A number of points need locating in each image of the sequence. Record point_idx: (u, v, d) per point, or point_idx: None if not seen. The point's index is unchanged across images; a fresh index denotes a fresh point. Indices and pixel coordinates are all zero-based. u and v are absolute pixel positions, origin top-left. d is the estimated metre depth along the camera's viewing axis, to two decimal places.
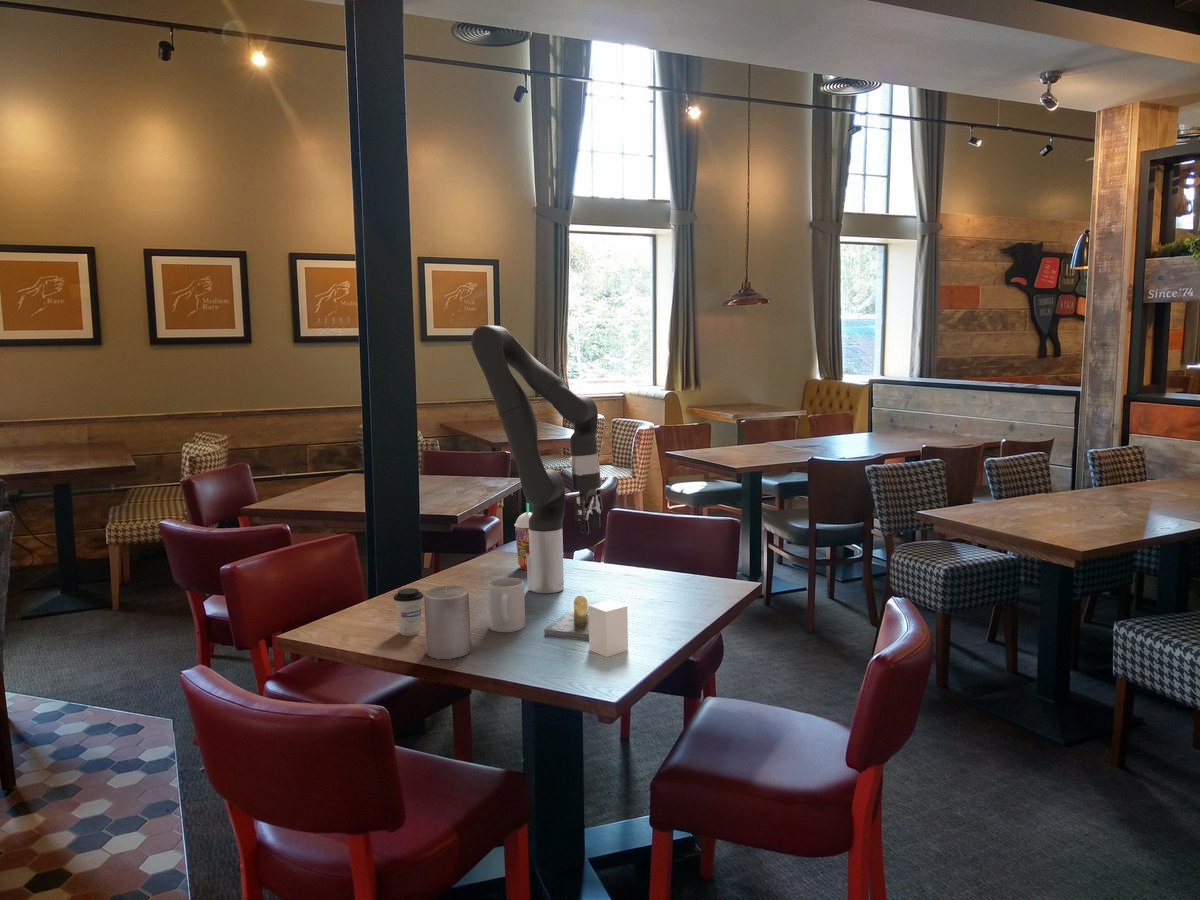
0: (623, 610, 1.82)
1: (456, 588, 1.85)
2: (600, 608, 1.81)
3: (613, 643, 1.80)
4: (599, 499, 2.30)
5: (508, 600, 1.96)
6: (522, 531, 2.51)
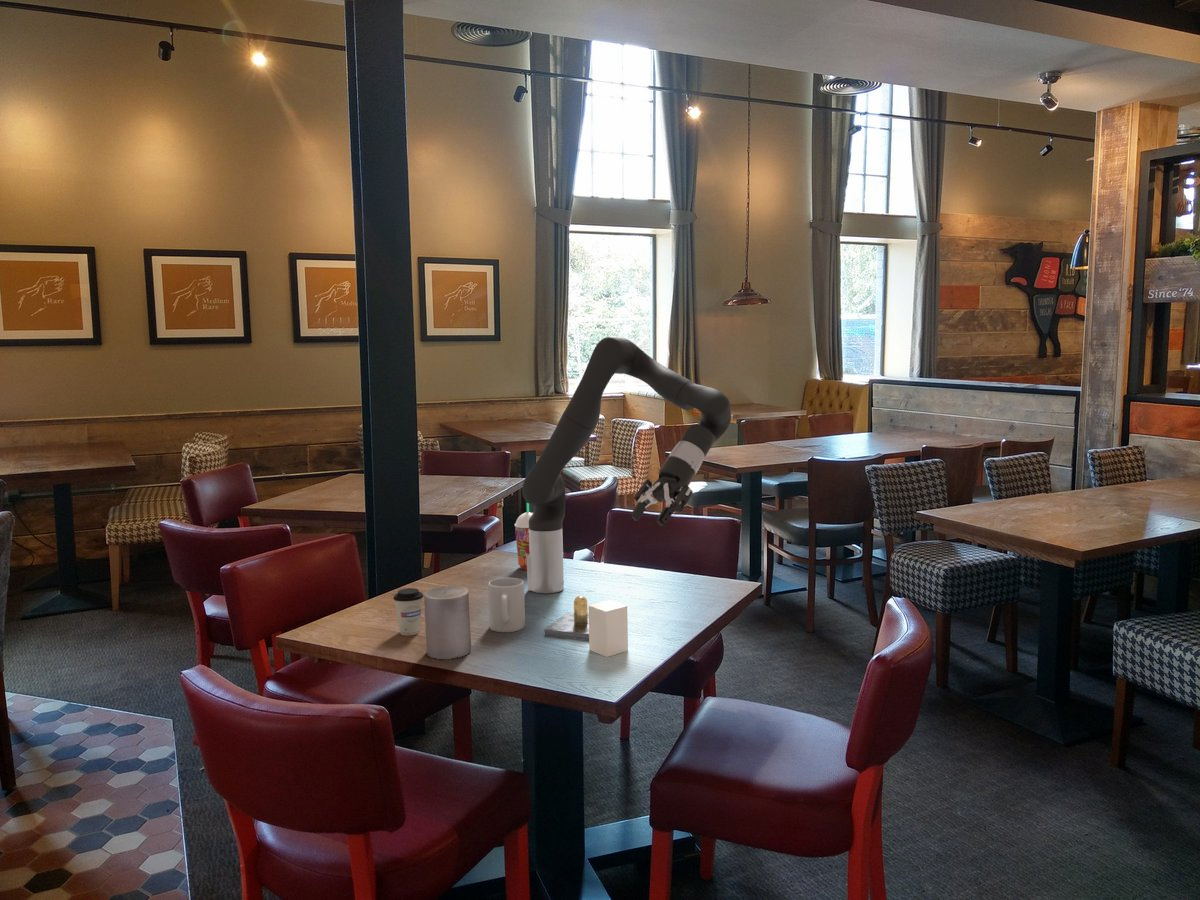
0: (623, 610, 1.82)
1: (456, 588, 1.85)
2: (600, 608, 1.81)
3: (613, 643, 1.80)
4: None
5: (508, 600, 1.96)
6: (522, 531, 2.51)
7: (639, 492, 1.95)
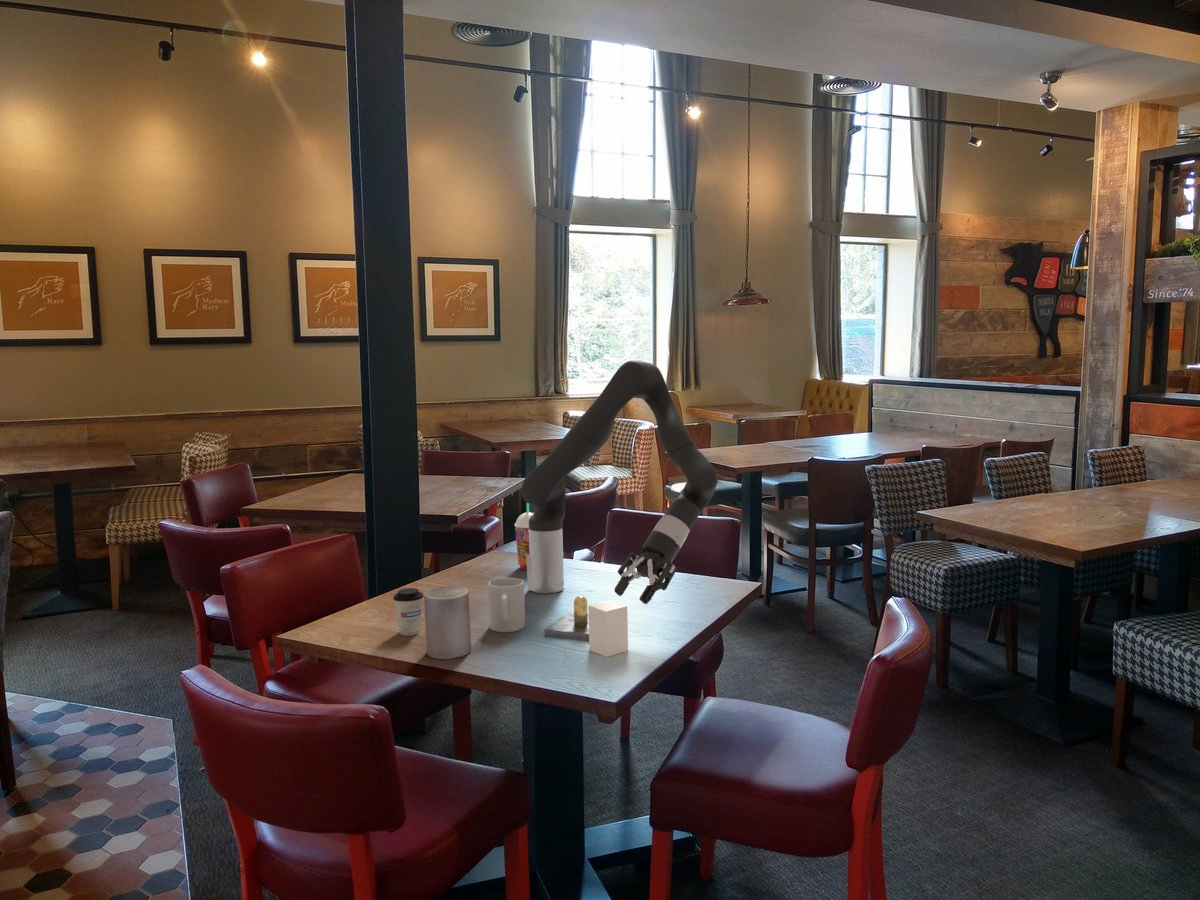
0: (623, 610, 1.82)
1: (456, 588, 1.85)
2: (600, 608, 1.81)
3: (613, 643, 1.80)
4: None
5: (508, 600, 1.96)
6: (522, 531, 2.51)
7: (623, 566, 1.93)
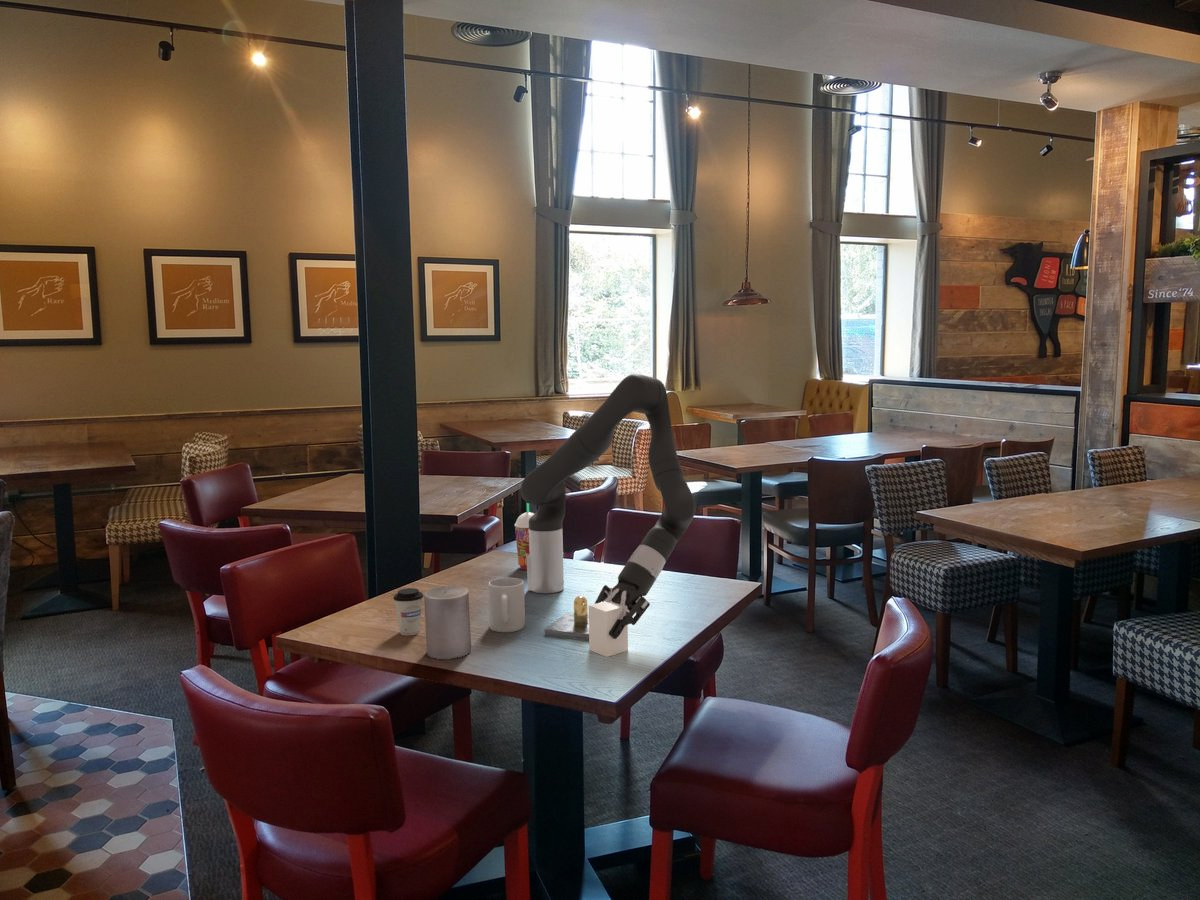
0: None
1: (456, 588, 1.85)
2: (600, 608, 1.81)
3: (613, 643, 1.80)
4: None
5: (508, 600, 1.96)
6: (522, 531, 2.51)
7: (598, 600, 1.88)
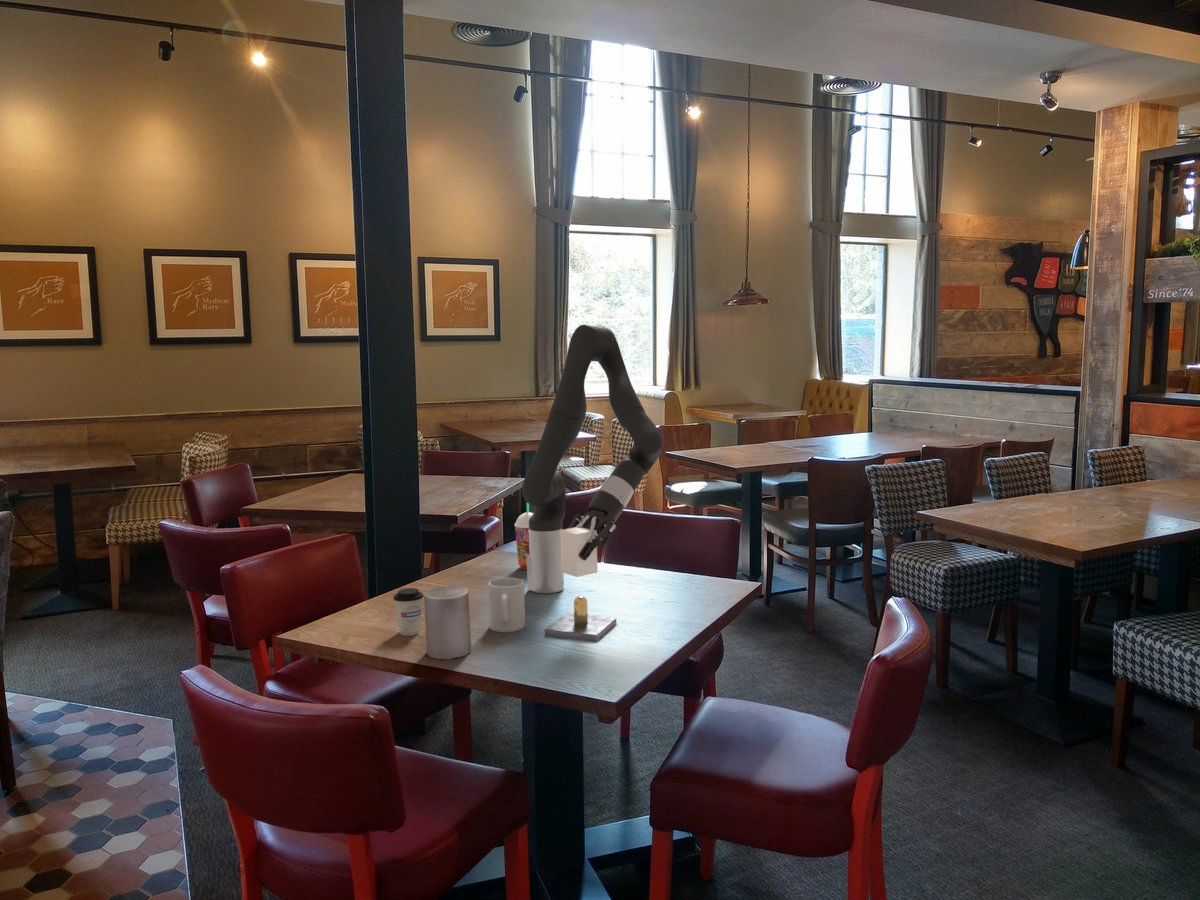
0: None
1: (456, 588, 1.85)
2: (571, 532, 1.93)
3: (583, 564, 1.93)
4: None
5: (508, 600, 1.96)
6: (522, 531, 2.51)
7: (570, 526, 2.01)
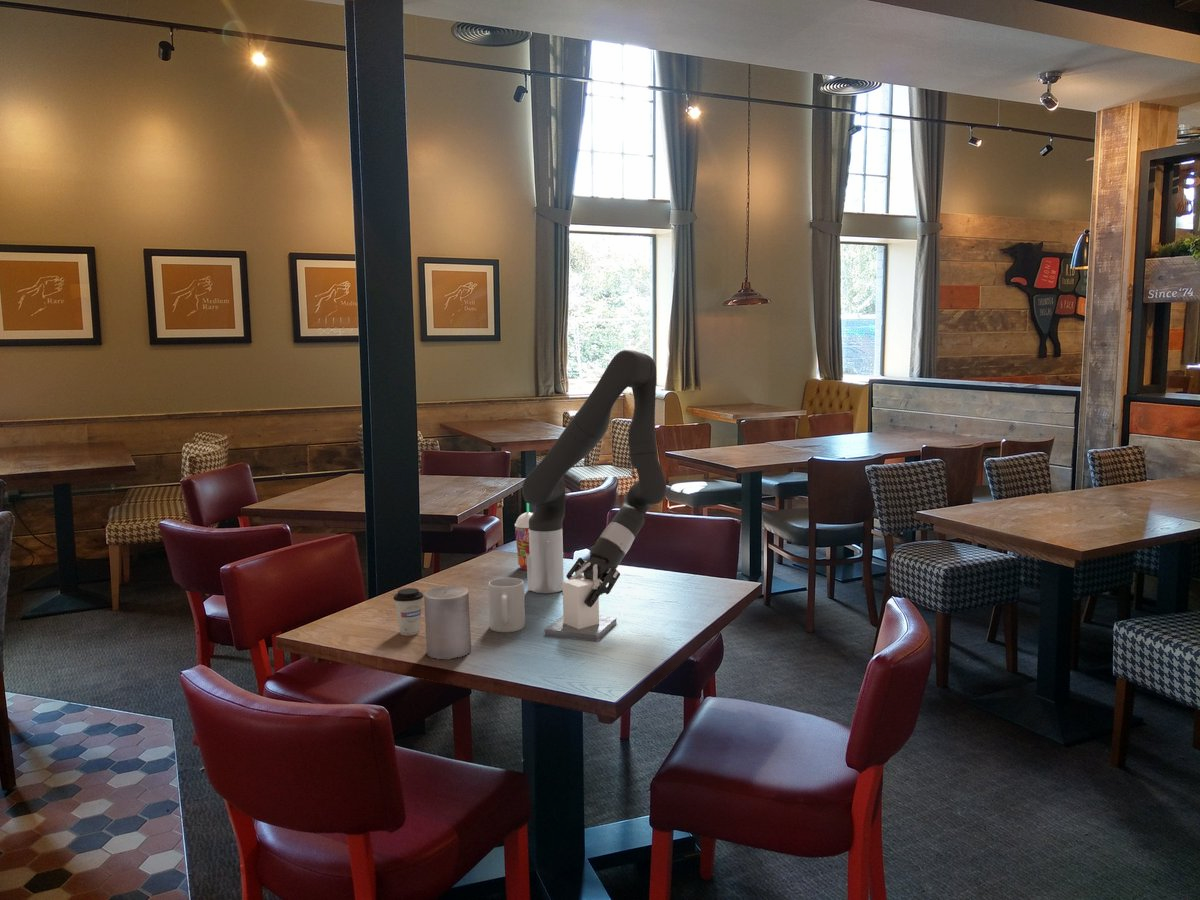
0: None
1: (456, 588, 1.85)
2: (573, 584, 1.95)
3: (585, 616, 1.94)
4: None
5: (508, 600, 1.96)
6: (522, 531, 2.51)
7: (571, 570, 2.03)
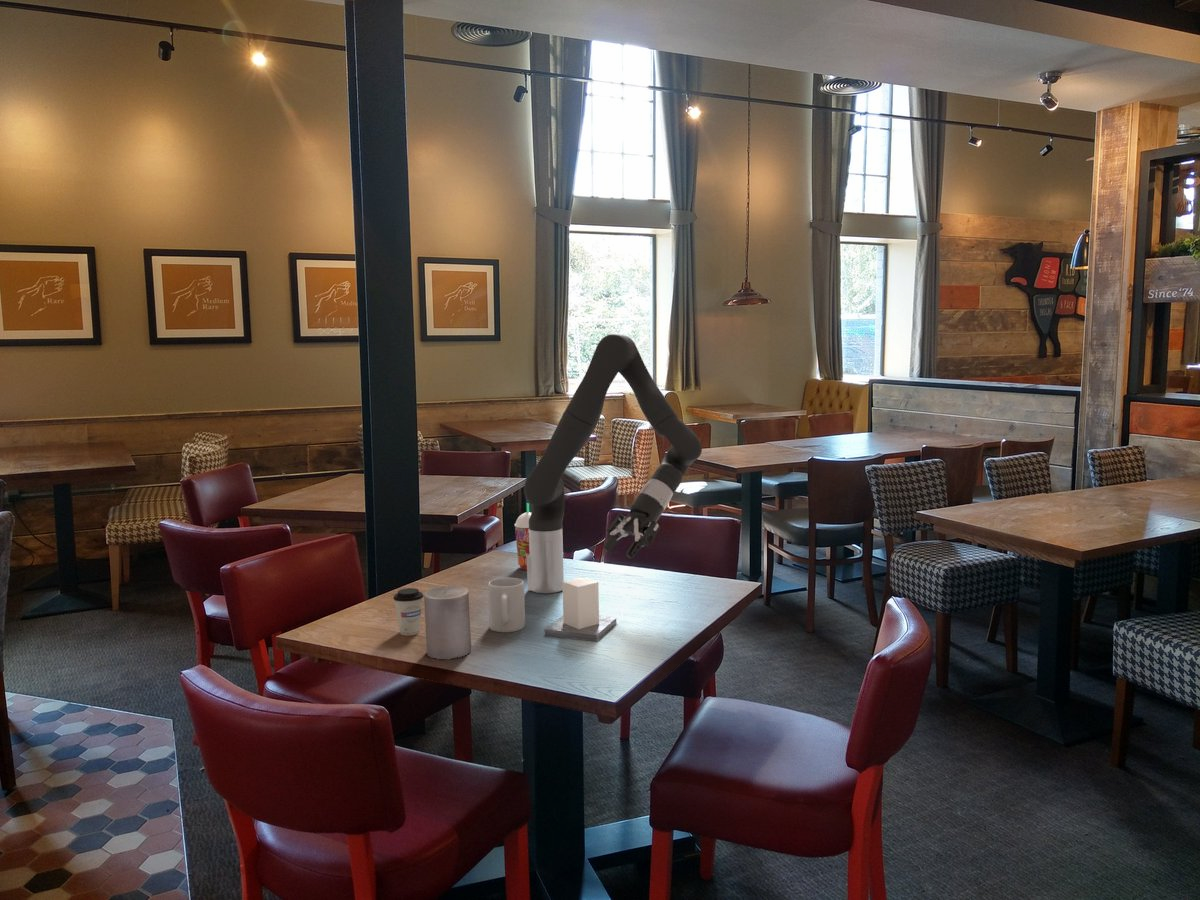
0: (595, 586, 1.96)
1: (456, 588, 1.85)
2: (573, 584, 1.95)
3: (585, 616, 1.94)
4: None
5: (508, 600, 1.96)
6: (522, 531, 2.51)
7: (612, 525, 2.10)
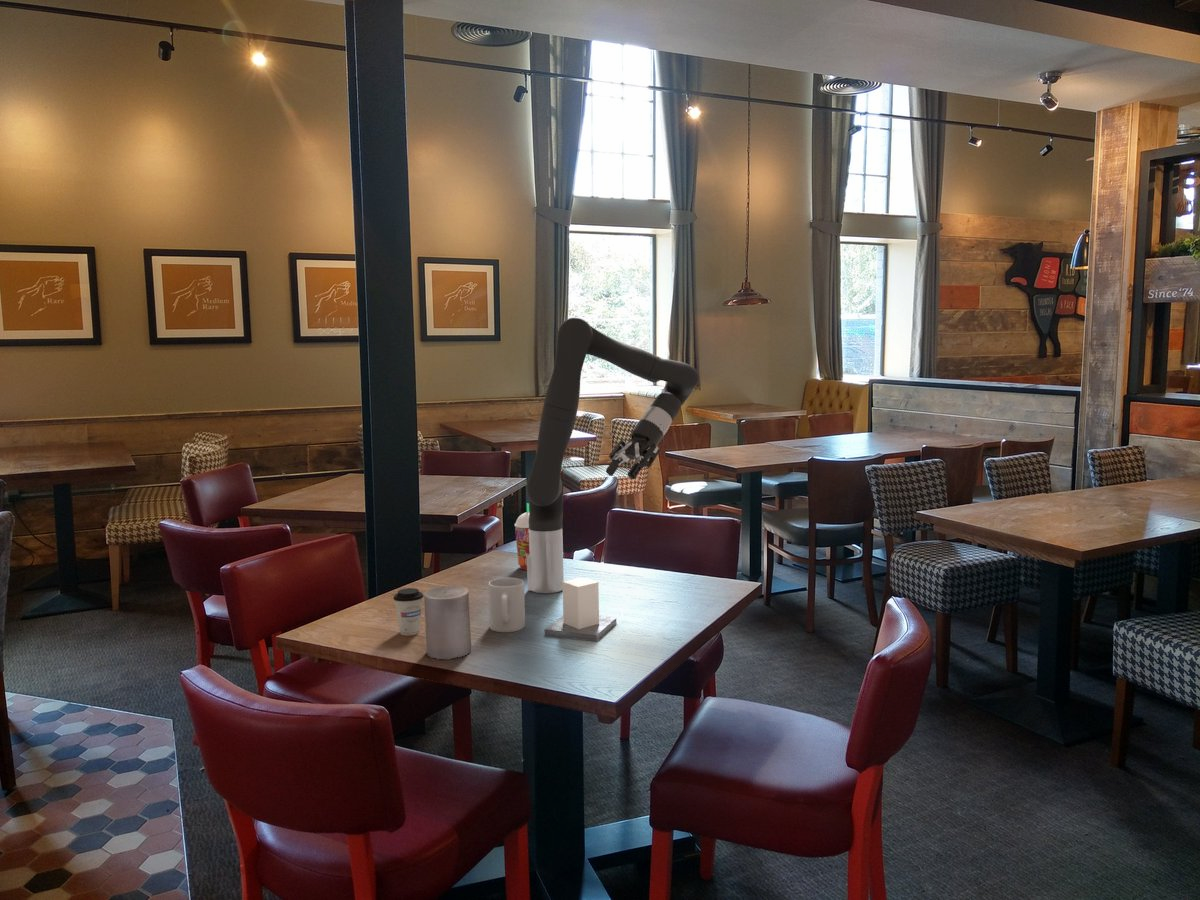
0: (595, 586, 1.96)
1: (456, 588, 1.85)
2: (573, 584, 1.95)
3: (585, 616, 1.94)
4: None
5: (508, 600, 1.96)
6: (522, 531, 2.51)
7: (613, 451, 2.20)
